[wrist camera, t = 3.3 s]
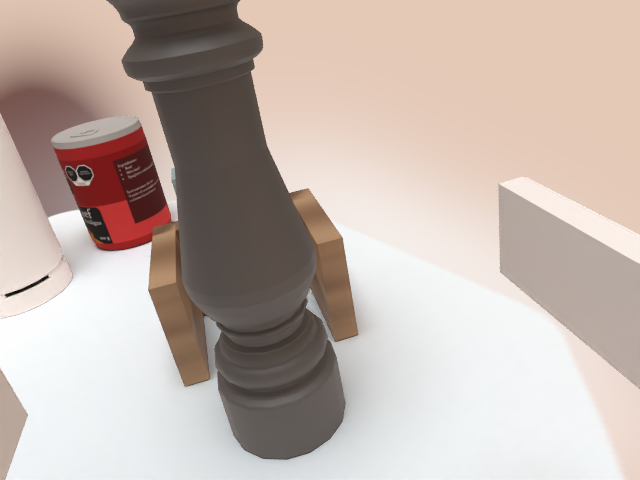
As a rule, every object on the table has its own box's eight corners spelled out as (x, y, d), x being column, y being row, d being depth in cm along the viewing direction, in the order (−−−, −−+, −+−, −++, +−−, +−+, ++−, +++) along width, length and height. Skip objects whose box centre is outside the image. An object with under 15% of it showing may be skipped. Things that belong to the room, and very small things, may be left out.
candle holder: (317, 357, 32) (212, -142, 20) (365, 425, 26) (260, -195, 15) (220, 398, 30) (42, -123, 18) (250, 480, 25) (28, -175, 13)
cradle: (358, 334, 33) (342, 237, 30) (184, 386, 31) (148, 289, 28) (323, 271, 40) (308, 188, 37) (182, 310, 39) (153, 227, 35)
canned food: (95, 230, 55) (54, 129, 50) (170, 209, 57) (138, 110, 52) (92, 260, 49) (44, 149, 44) (176, 236, 51) (140, 126, 46)
